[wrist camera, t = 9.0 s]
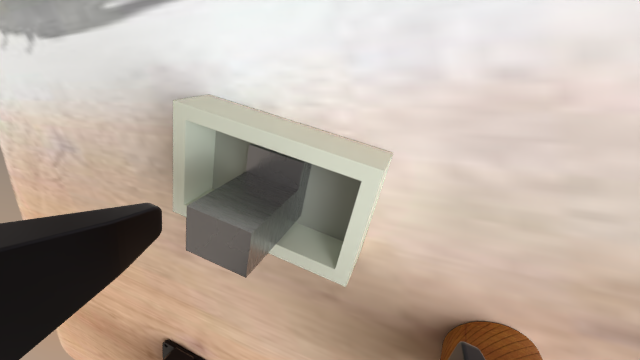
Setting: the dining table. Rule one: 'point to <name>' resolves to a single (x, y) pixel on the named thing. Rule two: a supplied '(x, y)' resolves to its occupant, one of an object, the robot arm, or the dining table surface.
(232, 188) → the grey l-shaped step block
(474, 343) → the disposable coffee cup
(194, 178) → the pale green open box
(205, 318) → the dining table surface
